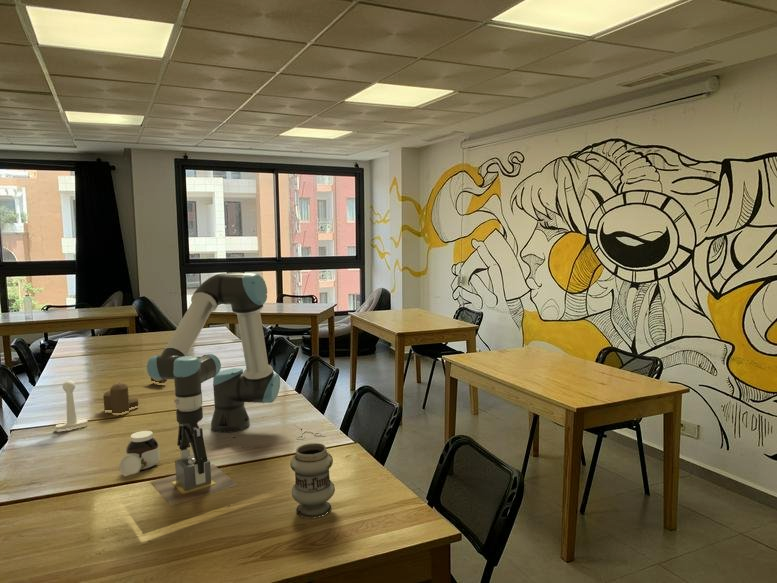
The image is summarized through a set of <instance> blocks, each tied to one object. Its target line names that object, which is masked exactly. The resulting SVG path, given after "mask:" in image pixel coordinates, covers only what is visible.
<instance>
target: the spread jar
mask: <svg viewBox="0 0 777 583" xmlns="http://www.w3.org/2000/svg"><path fill="white" fill-rule="evenodd" d="M125 449H126V451H125V455H126V456H124V457H123V458H121V460H120V462H119V466H118V469H119V472H120V474H121V475H122V476H124V477H127V476H130V475H134V474H137V473H142V472H144V471H145V472H146V471H149V470H152V468H153V469H154V468H155V467H156V466H157V465H158V464H159V463H160V462H159V461H160V445H159V442H158V441H157V439H155V438H154V434H153V432H152V431H150V430H141V431H136V432H133V433H132V434H131V435H130V442H129V443H128V444H127V446H126V448H125Z"/></svg>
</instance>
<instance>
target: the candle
mask: <svg viewBox="0 0 777 583" xmlns="http://www.w3.org/2000/svg"><path fill="white" fill-rule="evenodd" d="M138 405H139V398H129V386H128V385H127V384H126V383H121V382H120V380H118V383H117V384H116V383H115V384H113V385H112V386H111V387H110V390H108V391H105V392H104V394H103V408H104V411H105V410H112V413H122V412H125V411H129V408H131V407H135V406H138ZM112 413H111V414H112Z"/></svg>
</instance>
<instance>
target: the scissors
mask: <svg viewBox="0 0 777 583" xmlns="http://www.w3.org/2000/svg"><path fill="white" fill-rule="evenodd" d="M305 431H306V432H305ZM304 432H305V433H309V432H312V433H311V434H312V435H314V437H323V436H324V438H325V436H326V435H323V433H322V432H319V433H320V434H315V433H316V432H314V431H309V430H307V429H306V428H305V429H303V430H301V433H300V435H298V436H296V440H297V439H298V441H301V439H302V440H304V439H305V436H304V435H303V434H305V433H304ZM320 435H321V436H320ZM300 436H302V437H300Z"/></svg>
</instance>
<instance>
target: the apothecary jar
mask: <svg viewBox="0 0 777 583" xmlns="http://www.w3.org/2000/svg"><path fill="white" fill-rule="evenodd" d="M333 462H334V460H333V457H332V455H331V453H329V452H328V450H327V447H326V445H324V444H323V443H318V442H317V443H316V442H314V443H313V442H311V443H305V444H302V445H299V446H298V447H297V448H296V450H295V454H294V456H293V457H292V458H291V460H290V463H289V464H290V465H289V466H290V468H291V470H292V471H293V472H294V478H295V483H294V484H293V486H292V487H291V497H292V498H293V500H294V501H295V502H296V503H298V505H297V507H296V509H295V512H296V514H297V513H298V515H300V517H301V516H302V517H301V518H303V517H306V518H305V519H310V518H312V519H315V518H314V517H319V516H322V515H325V514H326V513H327V512H329V511H330V509H331V510H332V504H331V503H330V502H328V501H329V500H331V498H332V497H333V496H334V494H335V491H336V488H335V484H334V482H332V480H331V478H330V469H331V467H332V466H333V464H334V463H333ZM330 512H331V511H330ZM330 512H329V513H330ZM325 516H326V515H325Z"/></svg>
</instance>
